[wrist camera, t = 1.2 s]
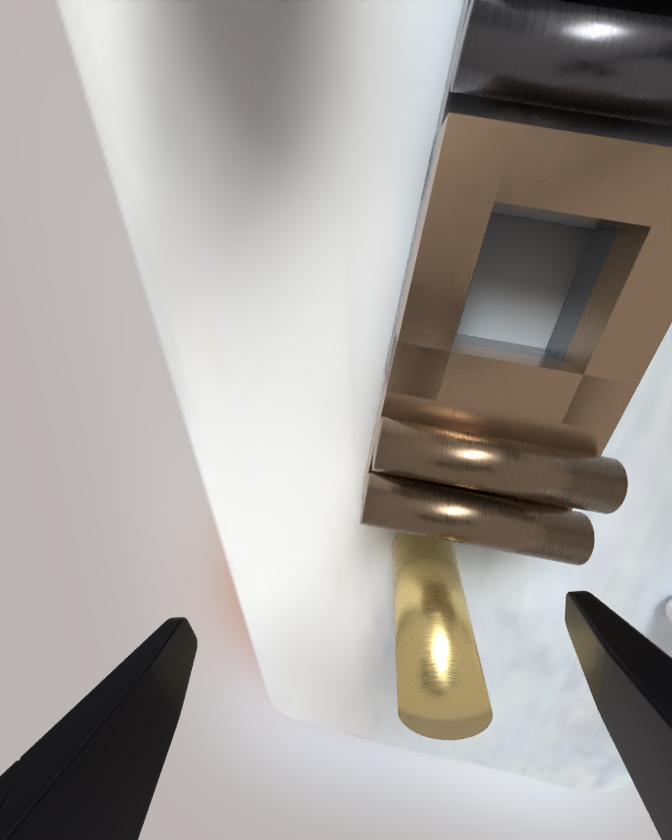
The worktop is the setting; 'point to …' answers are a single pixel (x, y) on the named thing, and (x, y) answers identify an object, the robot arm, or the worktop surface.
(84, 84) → the worktop surface
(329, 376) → the worktop surface
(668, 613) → the lightbulb
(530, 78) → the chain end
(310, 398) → the worktop surface
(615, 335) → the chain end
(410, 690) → the brass pin
